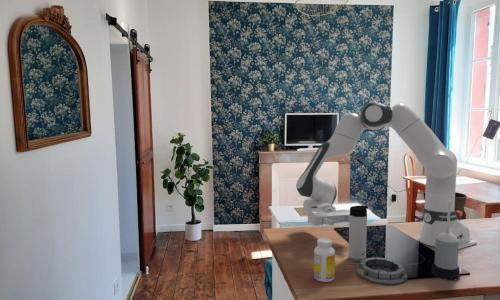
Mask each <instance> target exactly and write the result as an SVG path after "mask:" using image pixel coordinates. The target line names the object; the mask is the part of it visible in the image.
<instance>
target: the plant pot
mask: <svg viewBox="0 0 500 300" xmlns="http://www.w3.org/2000/svg"><path fill="white" fill-rule="evenodd" d="M467 197H468V196H467V195H466V194H464V193H461V192H456V191H455V206H454V210H455V211H461V212H462V213H464V210H465V205H466V201H467ZM457 218H458V220H459V221H460V222H461V218H462V216H458V215H457Z"/></svg>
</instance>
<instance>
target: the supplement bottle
mask: <svg viewBox="0 0 500 300" xmlns="http://www.w3.org/2000/svg"><path fill="white" fill-rule="evenodd" d="M316 244H317V246H315V248H314V250H313V276H314V279H315V280H316V281H318V282H322V283H330V282H333V281H334V280H335V276H336V275H335V271H336V269H335V267H336V264H335V262H336V261H335V259H336V254H335V253H336V251H335V249H334V248H333V247H332V245H333V240H332V239H330V238H326V237H319V238H318V239H317V241H316Z"/></svg>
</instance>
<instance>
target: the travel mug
mask: <svg viewBox="0 0 500 300" xmlns="http://www.w3.org/2000/svg"><path fill="white" fill-rule="evenodd" d="M368 209H369V206H368V205H353V206H350V208H349V210H350V216H349V222H348V224H349V225H348V227H349V228H348V259H349V260H350V261H352V260H353V262H358V263H361V261H362V260H364V259H366V258H367V233H368V229H367V228H368V227H367V226H368Z"/></svg>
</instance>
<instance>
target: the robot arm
mask: <svg viewBox="0 0 500 300" xmlns="http://www.w3.org/2000/svg"><path fill="white" fill-rule="evenodd" d="M386 126H388V127H389V128H391V129H393V130H394V132H395V133H396V134H397V135H398V136H399V137H400V138H401V140H402V141H403V142H404V143H405V144H406V146H407V147H408V148H409V149H410V150H411V152H412V153H413V154H414V156H415V157H416V159H417V160H418V162H420V164H421V166H423V168H424V169H425V171H426V181H425V188H424V189H425V190H424V194H425V195H424V207H423V209H422V216H423V218H422V219H423V220H422V224H421V230H420V233H419V237H418V240H419V241H420V243H422V244H424V245H427V246H431V247H435V244H436V237H437V235H438V234H440V233H442V232H445V231H446V228H447V214H448V205H449V201H450V202H451V213H450V229H449V230H450V232H451V233H452V234H454V235H455V236H456V237H457V239H458V242H459V246H458V250H461V249H464V248H467V247H470V246H474V245H477V241H476V240H475V239H473V238H471V233H470V229H469V227H468V226H467V225H465V224H464V223H463V222H462V221H461V220H460V221H459V220H458V218H457V215H458V216H461V217H462V216H463V213H464V212H463V213H462V212H461V211H455V210H454V206H455V192H456V188H457V187H456V186H457V185H456V184H457V167H458V166H457V165H458V159H457V156H456V154H455V153H454V152H453V151H451V150H450V149H448V148H447V147H446V146H445V145H444V144H443V143H442V141H441V140H440V139H439V137H438V136H436V135H437V134H435V133H434V131H433V130H432V129H431V128H430V126H428V125H427V124H426V123H425V121H424V120H423V119H422V118H421V117H420V116H419V115H418V114H417V113H416V112H415V111H414V110H413V109H411V108H410V107H409V106H407V105H406V104H404V103H397V104H395V105H393V106H389V105H387V104H383V103H380V102H377V101H376V102H375V101H374V102H370V103H367V104H366V105H364V107H362V109H361V112H360V113H354V112H346V113H345V114H343V115H342V116H341V118H340V120H339V121H338V123H337V125H336V127H335V130H334V131H333V134H332V136H331V137H330V138H329V139H328V140H327V141H324V142H322V144H321V145H320V146H319V147H318V149H317V151H316V152H315V154H314V155H313V157H312V158H311V160H310V162H309V163H308V165H307V167H306V168H305V170H304V171H303V173H302V174H301V175H300V176H299V178H298V179H297V182H296V185H295V187H296V189H297V192H298V193H299V195H300V196H302V197H307V198H306V199H304V201H303V204H302V205H303V206H302V208H303V210H304V212H305V213H306V214H307V223H308V224H311V225H312V226H321V225H322V226H323V225H327V226H335V224H342V223H349V216H350V209H345V208H344V209H337V208H336V207H335V206H334V205H333V204H334V203H335V202H336V199H337V195H338V191H337V187H336V184H335V183H334V182H331V181H329V180H326V179H323V178H320V177H317V173H319V170H320V169H321V168H322V165H323V164H324V163H325V161H327V159H330V158H335V157H336V158H338V157H341V158H342V157H346V156H348V155H350V154H352V153H353V151H354V150H355V148H356V146H357V144H358V141H359V139H360V136H361V135H362V133H363V131H365V132H367V131H368V132H376V131H381V130H383V129H384V128H385V127H386ZM443 208H444V213H443ZM443 215H444V216H443ZM442 217H443V218H442ZM442 219H443V221H442ZM442 225H443V231H442Z"/></svg>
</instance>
